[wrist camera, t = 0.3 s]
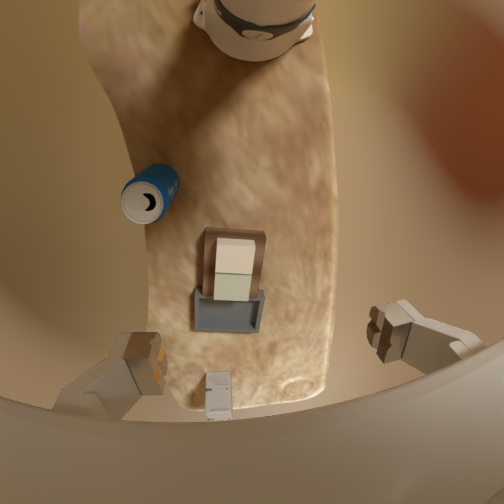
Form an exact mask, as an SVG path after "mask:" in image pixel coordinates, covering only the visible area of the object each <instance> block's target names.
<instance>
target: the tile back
mask: <svg viewBox="0 0 504 504" xmlns="http://www.w3.org/2000/svg"><path fill="white" fill-rule="evenodd" d="M251 277H252V276H251V274H237V273H218V272H215V280H214V300H230V301H248V300H249V292H250V285H251Z"/></svg>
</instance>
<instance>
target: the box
mask: <svg viewBox="0 0 504 504" xmlns="http://www.w3.org/2000/svg"><path fill="white" fill-rule="evenodd" d="M264 299H265V296H264V292H263V290H258V296H257V298H249V300H248V301H230V300H214V296H203V287H195V330H196V331H215V332H246V333H259V328H260V322H261V316H262V311H263V305H264Z"/></svg>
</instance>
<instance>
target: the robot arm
mask: <svg viewBox="0 0 504 504" xmlns="http://www.w3.org/2000/svg"><path fill="white" fill-rule="evenodd" d="M317 1H318V0H201V1H200V3H199V5H198V7H197V10H196V12H195V14H194V16H193V23H194V24H195V25H196V26H198V27H199V28H201V29H202V30H204V31H205V32H206V33H207V34H208V35H209V37H210V38H211V40H212V42H213V43H214V44H215V45H216V46H217V47H218V48H219V49H220V50H221V51H222V52H224V53H225V54H227V55H229V56H231V57H233V58H236V59H239V60H244V61H253V62H256V61H266V60H270V59H273V58H276V57H278V56H280V55H282V54H283V53H285V52H286V51H287V50H288V49H289V48H290V47H291V46H292V45H294V44H295V43H296V42H299V41H303V40H305V39H308V38H309V37H310V36H311V35H312V33H313V30H312V23H313V20H314V18H313V17H312V11H313V9H314V7H315V4H316V2H317ZM201 12H203V15H202V14H201ZM369 316H370V318H371V319H372V320H371V321H370V323H369V324H368V325H367V338H368V341H369V343H370V345H371V346H372V347H374V348H376V349H377V353H376V354H377V355H378V357H379V358H380V359H381V361H382V362H383V363H384V364H385V363H389V362H392V361H396V360H400V359H401V360H402V361H404V362H406V363H407V364H409V365H411V366H412V367H414V368H416V369H418V370H419V371H421V372H423V373H425V374H426V375H425V376H422V377H420V378H417V379H415V380H412V381H409V382H407V383H404V384H401V385H398V386H395V387H392V388H389V389H386V390H383V391H380V392H377V393H373V394H370V395H366V396H363V397H359V398H355V399H352V400H348V401H344V402H340V403H336V404H331V405H327V406H323V407H318V408H313V409H308V410H303V411H298V412H292V413H286V414H280V415H273V416H266V417H258V418H250V419H239V420H227V421H212V422H182V423H181V422H174V423H173V422H170V423H169V422H141V421H125V420H121V419H122V417H123V416H124V415H125V414H126V413H127V412H128V411H129V410H130V408H132V406H133V405H134V404H135V403H136V402H137V401H138V400H139V399H140V397H141V395H163V391H164V385H165V381H164V378H163V377H164V376H165V375H166V374H167V357H166V353H165V350H164V349H163V348H162V347H161V343H162V340H161V337H160V334H159V333H158V332H134V333H132V332H129V333H121V334H119V336H118V338H117V340H116V343H115V345H114V347H113V349H112V352H111V354H110V356H109V358H108V359H104V360H103V361H101V362H100V363H98V364H97V365H96V366H94V367H93V368H91V369H90V370H88V371H87V372H86V373H84V374H83V375H81V376H80V377H78V378H77V379H76V380H74V381H73V382H71V383H70V384H68V385H67V386H65V387H64V388H63V389H62V390H61V392H60V394H59V396H58V398H57V400H56V402H55V404H54V406H53V409H52V410H50V409H45V408H41V407H37V406H32V405H28V404H25V403H21V402H17V401H14V400H11V399H7V398H4V397H1V396H0V504H504V337H503V338H502V339H500V340H498V341H496V342H495V343H493V344H491V345H489V346H486V345H485V344H484V343H483V342H482V341H481V340H480V339H479V338H478V337H477V336H476V335H475V334H473V333H472V332H469V331H465V330H463V329H460V328H457V327H454V326H451V325H448V324H445V323H442V322H438V321H436V320H433V319H430V318H424V317H423V316H422V315H421V314H420V313H419V312H417V310H416V309H415V308H413V307H412V306H411V305H410V304H409V303H408V302H407V301H406V300H398V301H394V302H392V303H387V304H382V305H377V306H373V307H372V308H371V310H370V314H369Z"/></svg>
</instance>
